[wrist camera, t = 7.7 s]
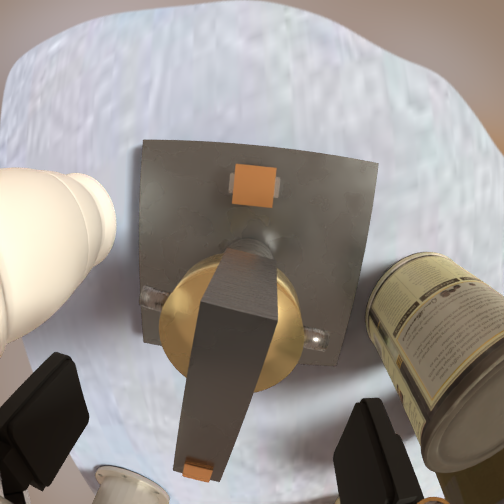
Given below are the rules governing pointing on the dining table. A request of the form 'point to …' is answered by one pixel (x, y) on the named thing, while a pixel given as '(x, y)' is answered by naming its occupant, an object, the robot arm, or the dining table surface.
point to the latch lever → (227, 349)
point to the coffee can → (443, 357)
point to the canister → (476, 482)
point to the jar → (47, 243)
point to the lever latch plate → (257, 222)
